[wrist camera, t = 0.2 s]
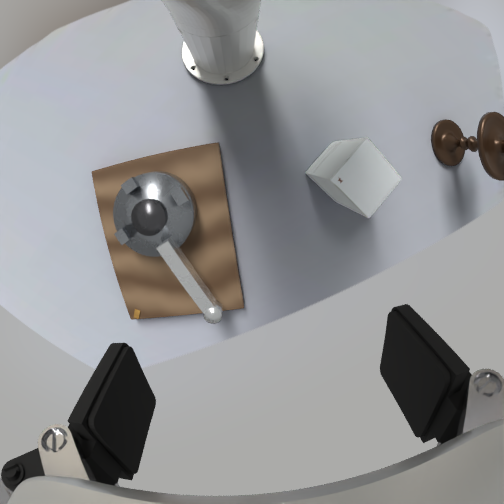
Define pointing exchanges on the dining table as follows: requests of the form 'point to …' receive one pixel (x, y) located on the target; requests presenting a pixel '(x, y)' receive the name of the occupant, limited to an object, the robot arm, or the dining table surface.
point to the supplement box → (355, 175)
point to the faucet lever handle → (163, 229)
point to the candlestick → (472, 143)
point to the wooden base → (194, 248)
